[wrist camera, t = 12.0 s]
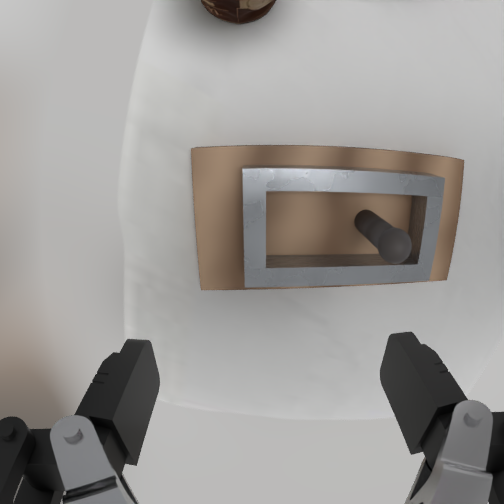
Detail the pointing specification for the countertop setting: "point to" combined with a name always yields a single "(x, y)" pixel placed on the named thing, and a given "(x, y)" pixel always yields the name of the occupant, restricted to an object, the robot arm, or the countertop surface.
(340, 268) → the grey picture frame
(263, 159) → the board
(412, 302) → the countertop surface
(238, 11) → the coffee cup
